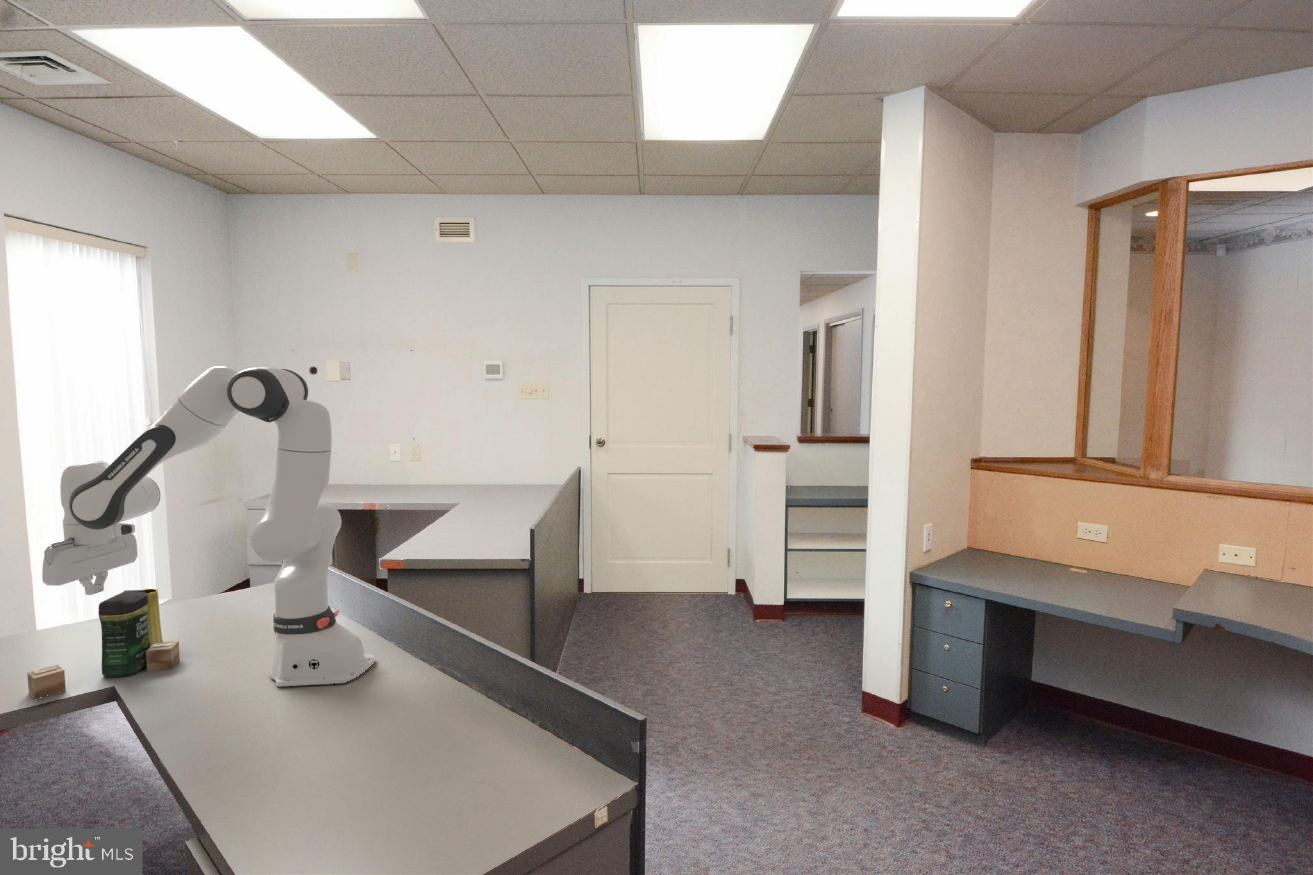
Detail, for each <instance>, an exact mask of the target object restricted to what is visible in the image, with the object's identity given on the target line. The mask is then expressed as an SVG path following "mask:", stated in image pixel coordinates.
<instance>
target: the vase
mask: <svg viewBox="0 0 1313 875" xmlns="http://www.w3.org/2000/svg"><path fill="white" fill-rule="evenodd" d="M142 590H143V591H144V592H145V593H146V594H147V596H148V597H147V598H148V612H147V622H148V632H149V640H150V647H151V646H152V645H153V644H154V643H162V642H164V641H163V633H162V626H161V625H162V624H161V618H160V617H161V616H160V615H161V614H160V612H161V611H160V600H159V589H157V588H144V589H142Z"/></svg>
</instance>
